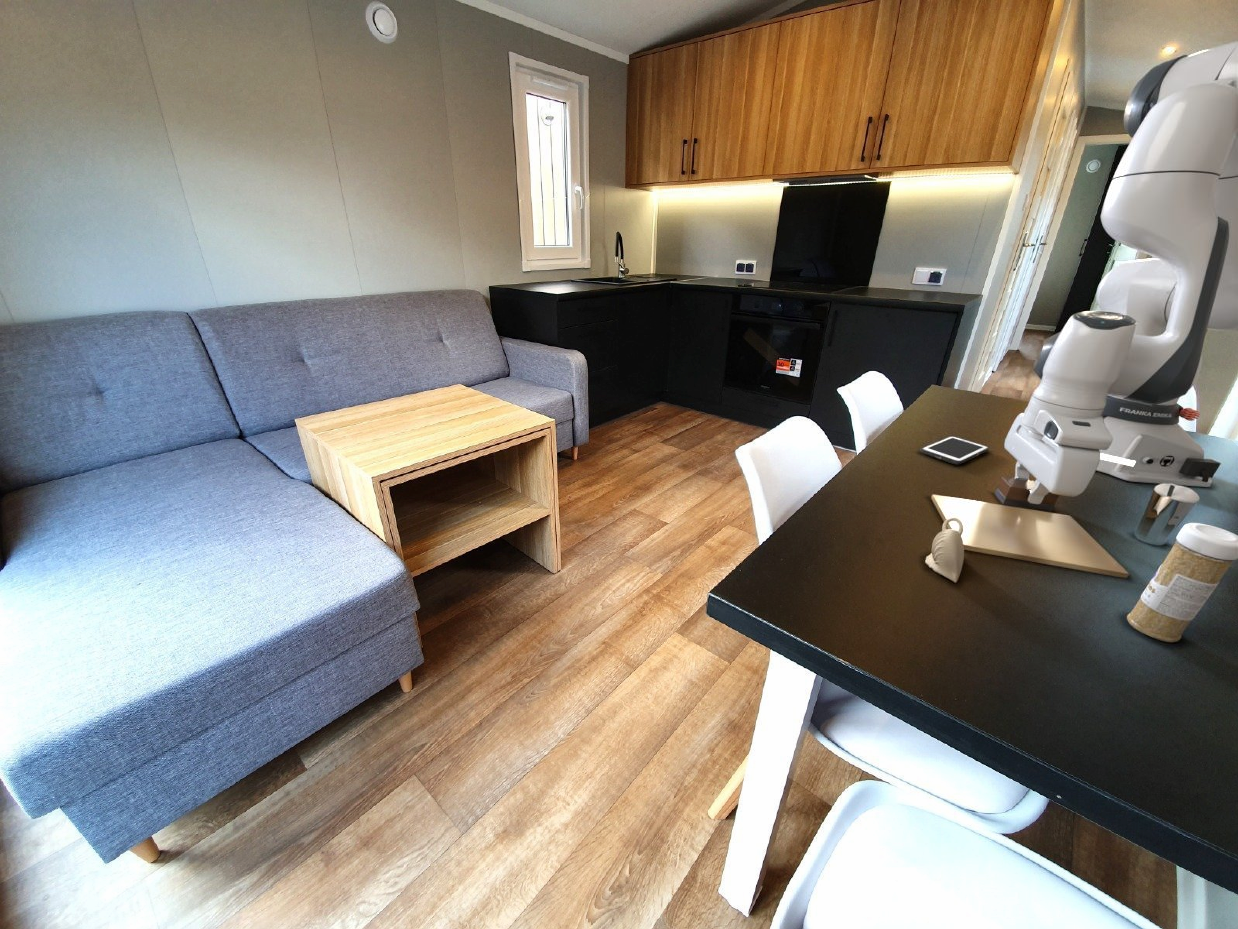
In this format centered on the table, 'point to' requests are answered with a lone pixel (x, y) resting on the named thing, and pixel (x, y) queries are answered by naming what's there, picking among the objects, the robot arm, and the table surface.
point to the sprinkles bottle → (1184, 581)
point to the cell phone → (954, 450)
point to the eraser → (1022, 494)
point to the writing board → (1027, 535)
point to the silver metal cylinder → (1165, 513)
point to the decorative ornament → (947, 551)
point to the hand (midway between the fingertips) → (1025, 494)
